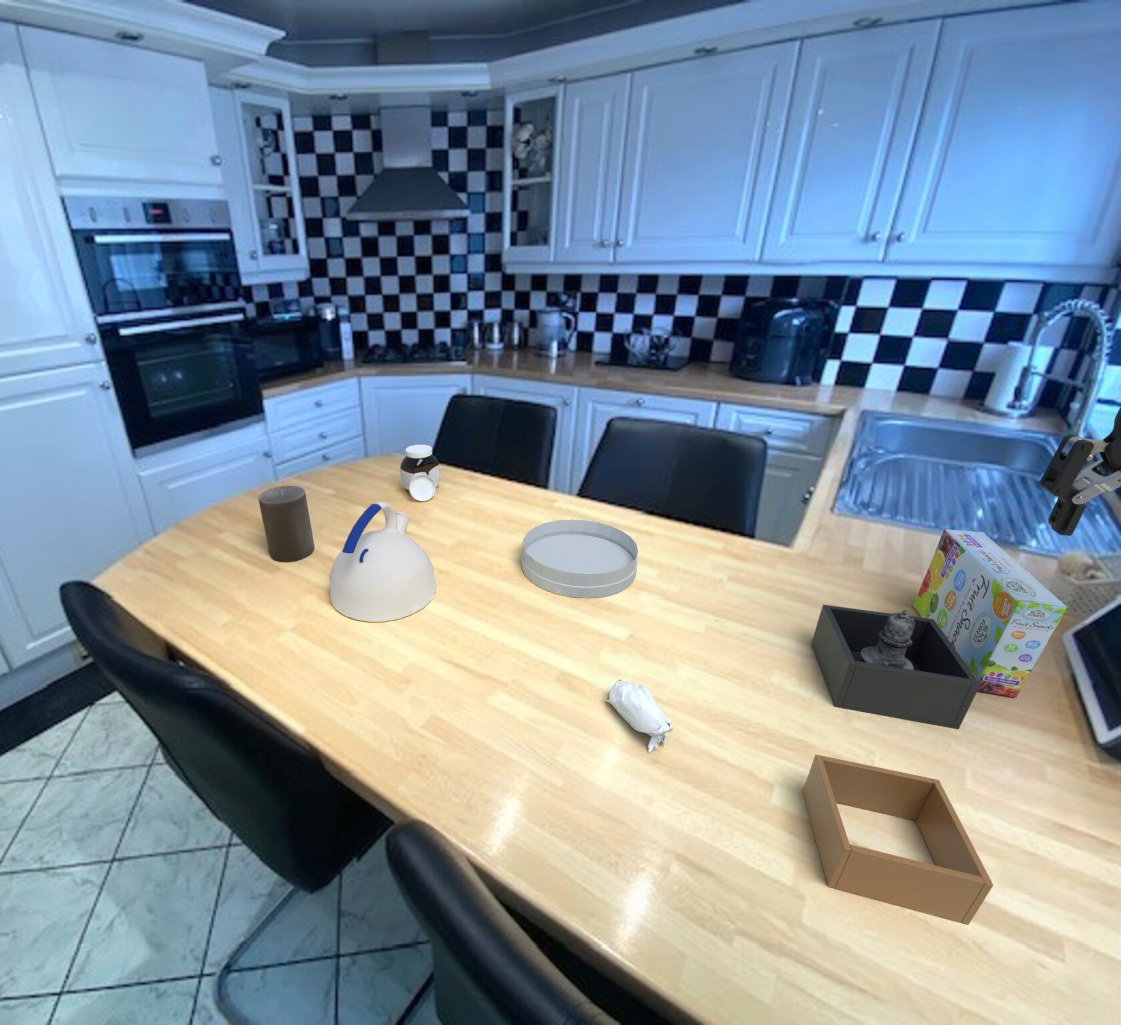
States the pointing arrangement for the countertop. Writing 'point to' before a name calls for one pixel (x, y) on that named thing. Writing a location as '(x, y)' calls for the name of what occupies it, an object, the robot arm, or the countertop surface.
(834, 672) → the open box
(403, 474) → the spread jar
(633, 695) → the white oblong lumpy piece
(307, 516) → the pillar candle
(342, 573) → the kettle
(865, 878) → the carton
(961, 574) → the snack box
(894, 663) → the dark grey chess piece
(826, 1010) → the countertop surface
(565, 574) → the dish
